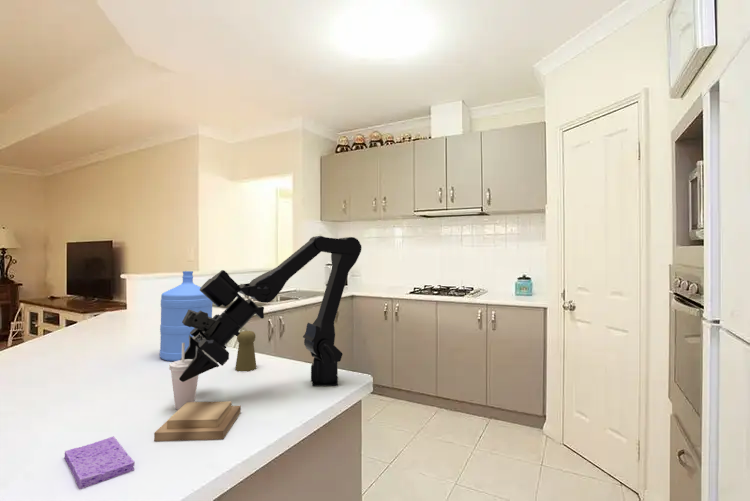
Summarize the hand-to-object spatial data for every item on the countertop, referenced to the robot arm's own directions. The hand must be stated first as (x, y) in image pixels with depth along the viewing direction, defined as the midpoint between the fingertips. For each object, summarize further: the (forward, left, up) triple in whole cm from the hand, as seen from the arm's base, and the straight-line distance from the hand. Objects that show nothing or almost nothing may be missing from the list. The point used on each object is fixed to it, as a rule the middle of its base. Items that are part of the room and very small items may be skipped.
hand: (178, 374), depth 85 cm
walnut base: (-8, +9, -7) cm, 14 cm away
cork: (-7, -30, -7) cm, 31 cm away
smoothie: (-1, -1, -7) cm, 8 cm away
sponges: (+3, +23, -8) cm, 24 cm away
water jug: (+16, -46, -7) cm, 49 cm away
